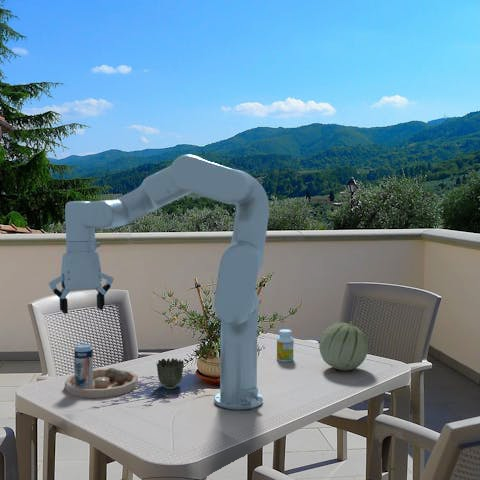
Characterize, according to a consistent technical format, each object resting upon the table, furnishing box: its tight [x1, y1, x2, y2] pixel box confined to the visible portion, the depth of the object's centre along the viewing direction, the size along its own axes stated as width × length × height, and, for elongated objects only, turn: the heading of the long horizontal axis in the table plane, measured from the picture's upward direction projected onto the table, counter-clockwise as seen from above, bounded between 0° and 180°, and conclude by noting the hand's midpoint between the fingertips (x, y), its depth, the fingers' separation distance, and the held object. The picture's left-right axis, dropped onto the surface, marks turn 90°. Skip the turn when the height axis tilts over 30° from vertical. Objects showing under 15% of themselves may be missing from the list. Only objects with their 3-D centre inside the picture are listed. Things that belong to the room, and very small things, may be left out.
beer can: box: [73, 343, 94, 389], centre depth 165 cm, size 5×5×12 cm
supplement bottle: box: [276, 328, 294, 363], centre depth 198 cm, size 5×5×10 cm
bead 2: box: [114, 371, 127, 384], centre depth 170 cm, size 4×4×4 cm
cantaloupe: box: [318, 320, 369, 372], centre depth 187 cm, size 15×15×15 cm
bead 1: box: [105, 367, 117, 381], centre depth 173 cm, size 4×4×4 cm
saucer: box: [64, 368, 139, 399], centre depth 168 cm, size 19×19×3 cm
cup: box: [155, 357, 185, 390], centre depth 168 cm, size 8×7×8 cm
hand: (82, 310), depth 163 cm, fingers open, 9 cm apart
